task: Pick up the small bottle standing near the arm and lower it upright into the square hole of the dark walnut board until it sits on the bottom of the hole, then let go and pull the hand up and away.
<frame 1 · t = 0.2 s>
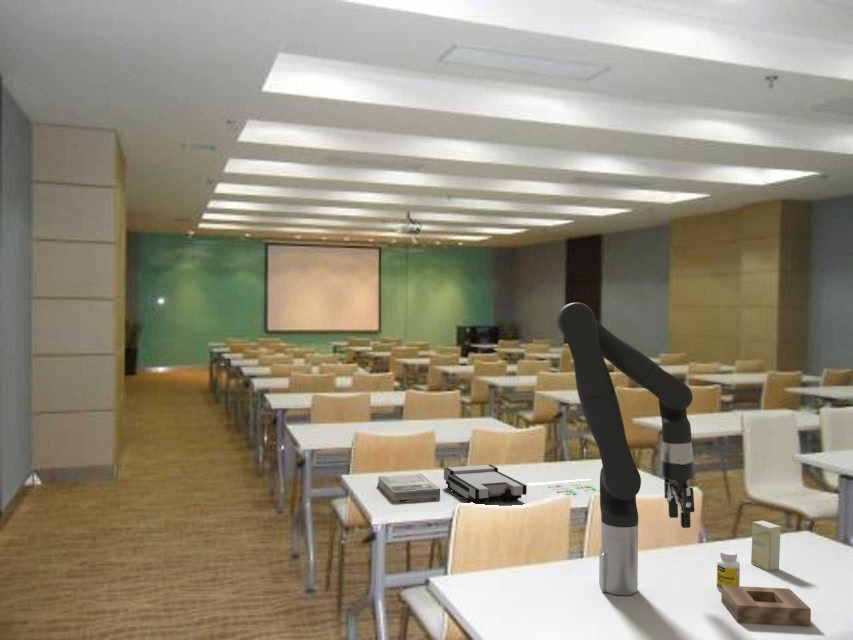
hand: (679, 522, 182), 18 cm above the table, tool pointing down, fingers open, 8 cm apart
game console: (483, 496, 277), on the table
hard drive: (408, 493, 280), on the table
walnut socket board: (764, 613, 169), on the table
skincare box: (765, 567, 201), on the table
printed paper: (577, 491, 286), on the table
supplement bottle: (727, 590, 183), on the table
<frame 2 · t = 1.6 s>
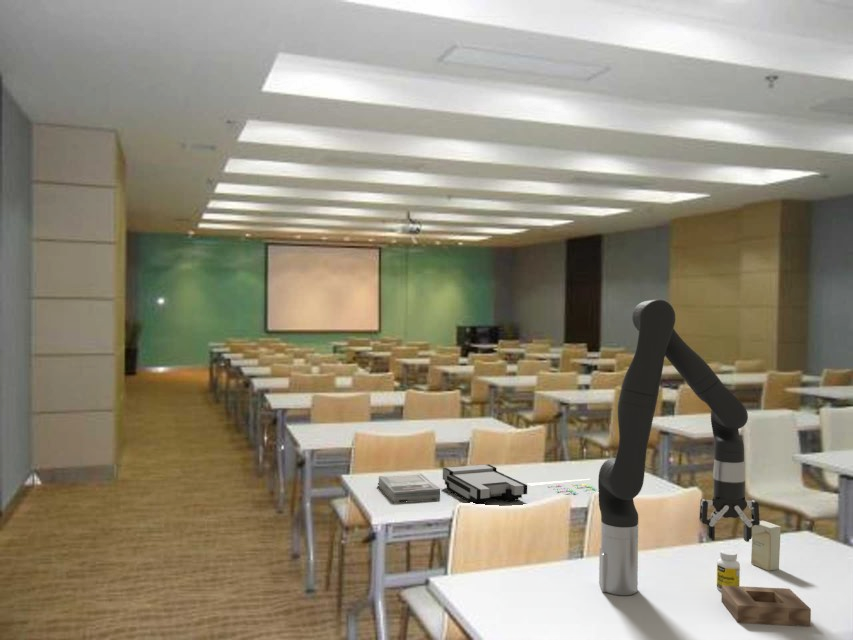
hand: (729, 540, 183), 13 cm above the table, tool pointing down, fingers open, 8 cm apart
nothing on the table moved.
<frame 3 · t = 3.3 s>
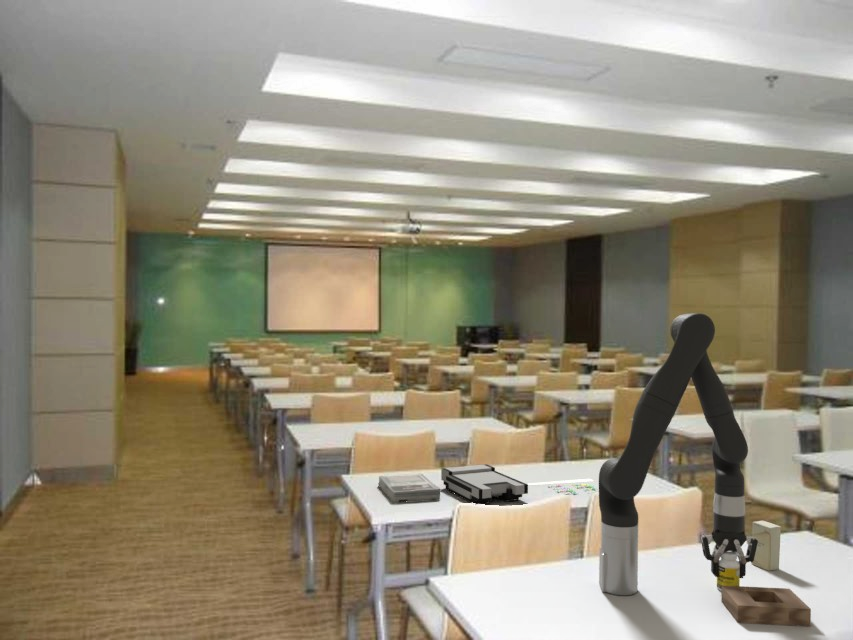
hand: (728, 576, 183), 3 cm above the table, tool pointing down, fingers closed on supplement bottle, 5 cm apart
supplement bottle: (727, 590, 183), on the table, touching gripper
everything else where it was.
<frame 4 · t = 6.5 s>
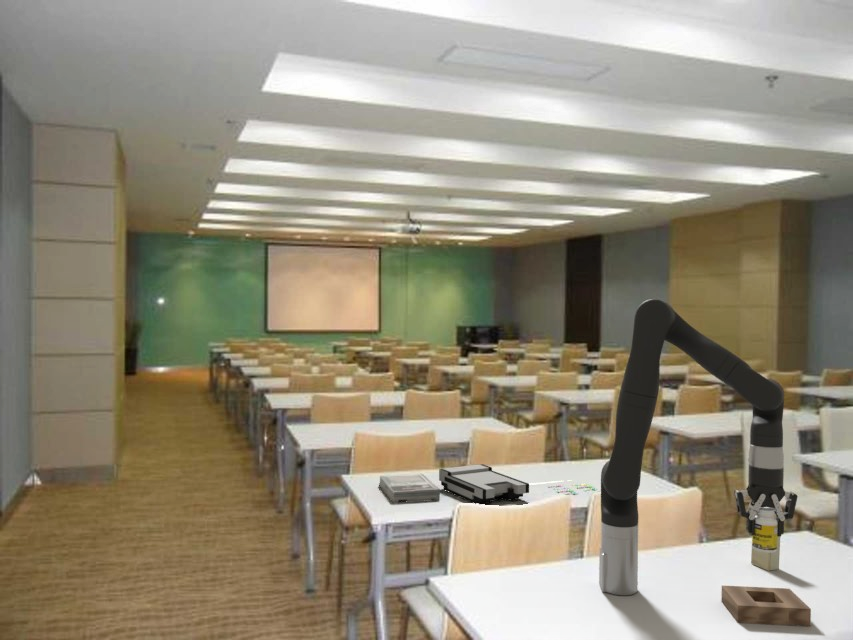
hand: (764, 534, 169), 19 cm above the table, tool pointing down, fingers closed on supplement bottle, 5 cm apart
supplement bottle: (764, 550, 169), point 15 cm above the table, touching gripper
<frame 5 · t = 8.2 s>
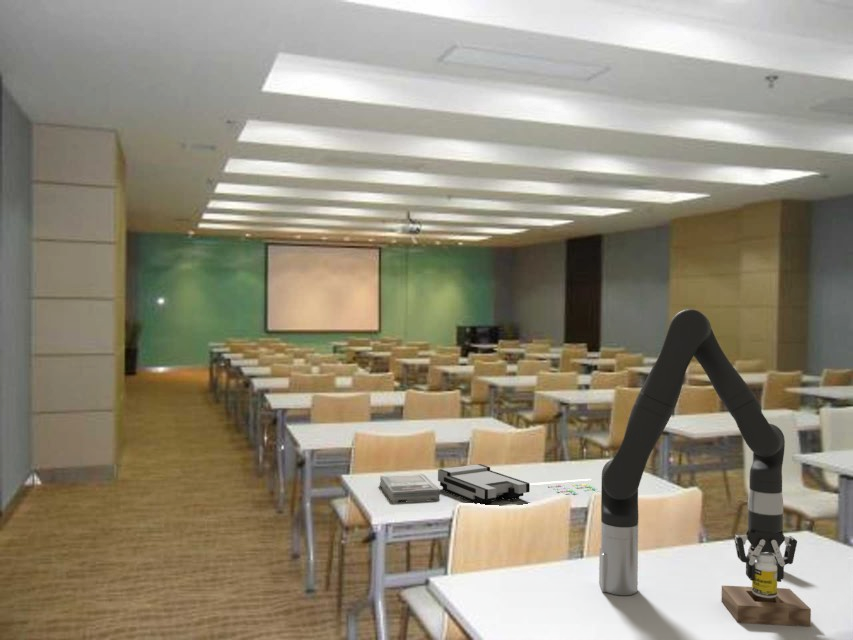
hand: (764, 579, 169), 8 cm above the table, tool pointing down, fingers closed on supplement bottle, 5 cm apart
supplement bottle: (764, 595, 169), point 4 cm above the table, touching gripper
when the fingers open (6 cm above the table, at t = 9.6 s): supplement bottle drops 1 cm, resting on walnut socket board.
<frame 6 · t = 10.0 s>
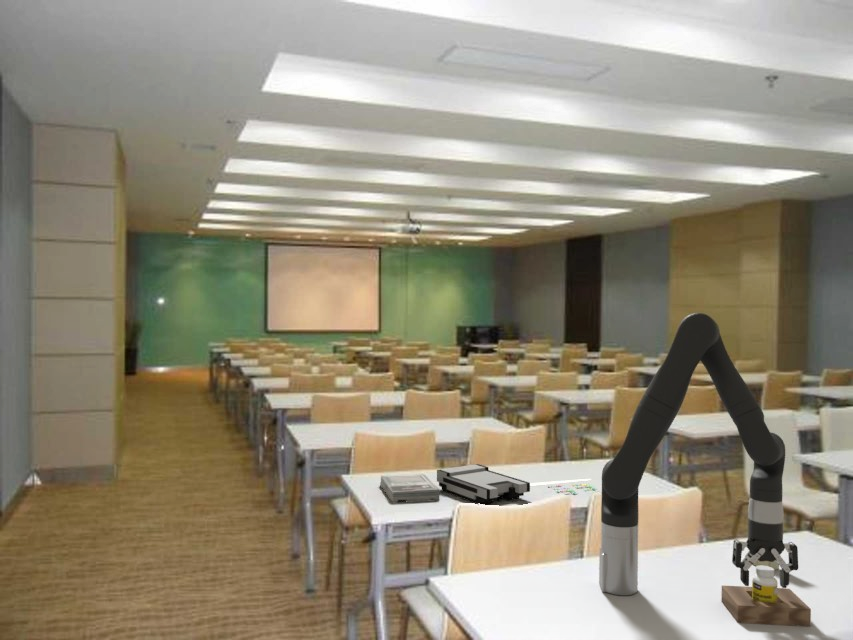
hand: (764, 585, 169), 7 cm above the table, tool pointing down, fingers open, 8 cm apart
supplement bottle: (764, 609, 169), point 1 cm above the table, touching walnut socket board
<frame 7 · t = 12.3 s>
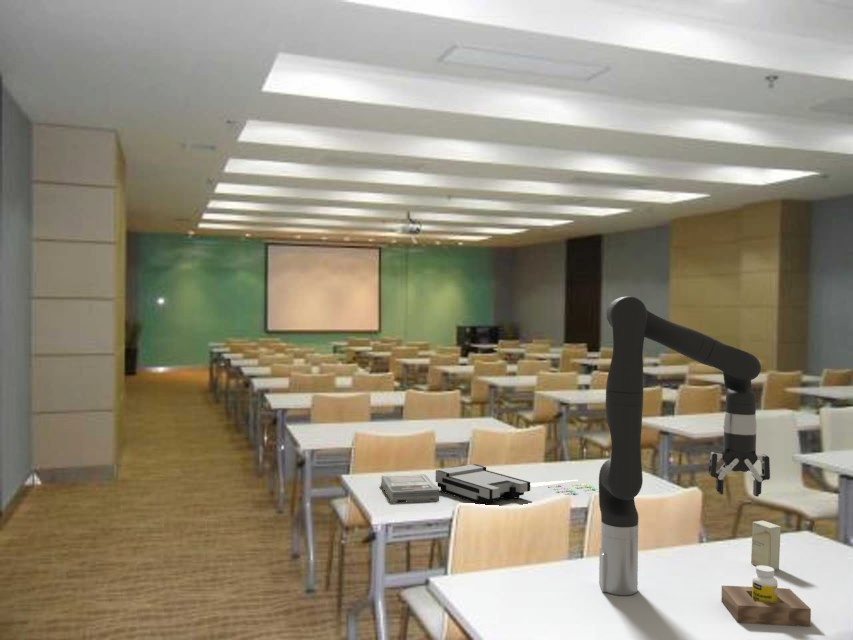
hand: (738, 494, 180), 25 cm above the table, tool pointing down, fingers open, 8 cm apart
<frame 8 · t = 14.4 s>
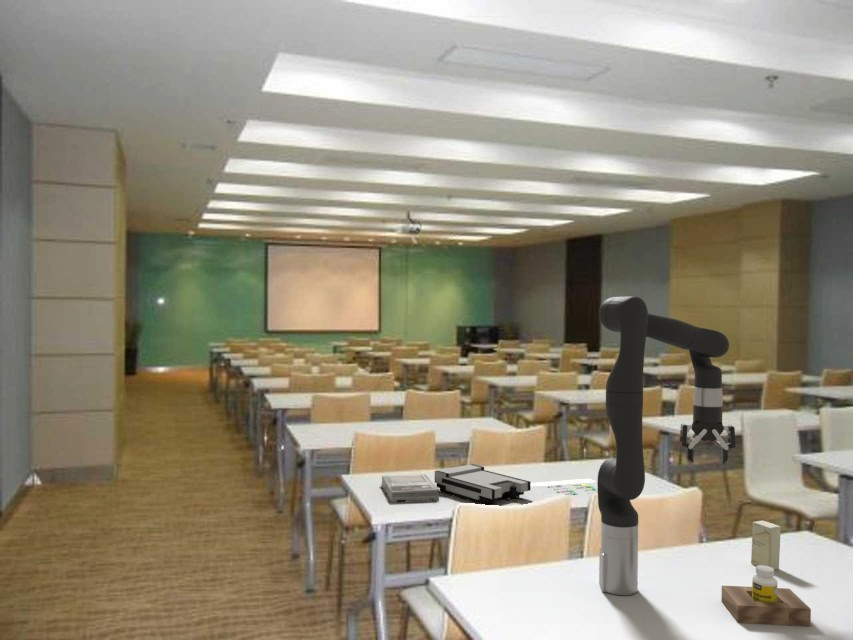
hand: (706, 462, 196), 30 cm above the table, tool pointing down, fingers open, 8 cm apart
at the end: supplement bottle 0.1 cm off-centre on the walnut socket board, point 0.8 cm above the walnut socket board's base; supplement bottle tilted 0°; the gripper is holding nothing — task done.
